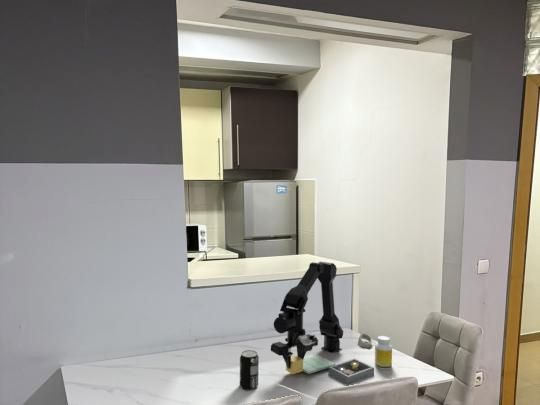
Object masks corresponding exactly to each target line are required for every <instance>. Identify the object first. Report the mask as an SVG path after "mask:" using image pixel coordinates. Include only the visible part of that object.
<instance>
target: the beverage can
mask: <svg viewBox="0 0 540 405" xmlns="http://www.w3.org/2000/svg"><path fill="white" fill-rule="evenodd" d="M259 360H260V359H259V355H258V352H257V351H256V350H250V349H247V350H243V351H241V353H240V357H239V387H240V388H241V389H242V390H244V391H253V390H256V389H257V387H258V386H259V369H260V368H259V364H260V363H259Z"/></svg>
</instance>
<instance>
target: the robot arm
mask: <svg viewBox="0 0 540 405" xmlns="http://www.w3.org/2000/svg"><path fill="white" fill-rule="evenodd" d="M337 271H338V270H337V266H336V264H335V263H333V262H327V261H319V262H314V261H312V262H310V263H309V264H308V269H307V270H306V271H305V273H304V275H303V276H302V278H301V279H300V281H299V282H298V284H297V285H296V286H294V287H292V288H290V289H289V291H287V293H286V294H285V296H284V298H283V301H282V305H281V307H280V309H279V311H280V313H278V317H276V318H275V319H274V321H273V328H274V330H275V331H276V332H277V333H278V334H285V333H287V336H286V337H285V339H284V341H285V342H286V343H283V342H281V341H276V342H273V343H272V344H271V345H270V351H271V352H272V353H274V354H275V355H278V356H282V358H283V361H284V363H285V366H286V365H287V368H288V369H290V366H291V357H292V356H293V354H294V353H293V352H292V351H291V350H292V348H295V347H296V354H297V355H296V356H298V357H300V358H302V359H305V356H306V354H307V352H311V351H313V347H316V346H318V345H319V344H318V343H319V340H318V338H317V336H316V335H315V334H309V333H308V334H307V333H306V329H305V328H303V327H304V326H303V325H304V313H305V312H306V309H305V307H306V305H307V303H308V300H309V297H308V296H309V295H308V294H309V292H310V291H311V289H312V287H313V286H314V284H315V282H316V281H317V279H318V281H319V283H320V285H321V286H320V288H321V303H322V314H323V315H322V317H320V320H319V321H318V323H319V324H318V326H319V333H320V336H324V337H323V346H322V347H321V350H323V351H325V352H329V353H331V354H332V353H336V352H339V351H343V350H342V348H340V347H341V346H340V345H341V344H340V343H341V342H340V339H342V338H343V336H344V330H343V328H342V327H341V324H340V319H339V318H338V316H337V314H336V313H335V299H334V296H335V295H334V287H333V286H334V280H335V279H336V277H337Z"/></svg>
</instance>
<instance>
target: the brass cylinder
mask: <svg viewBox="0 0 540 405" xmlns="http://www.w3.org/2000/svg"><path fill="white" fill-rule="evenodd" d="M351 370H352V371H358V370H359V363H357V362H351Z"/></svg>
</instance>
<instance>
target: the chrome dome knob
mask: <svg viewBox="0 0 540 405" xmlns="http://www.w3.org/2000/svg"><path fill="white" fill-rule="evenodd" d="M338 371H340V372H342V373H343V372H344V371H346V368H344V367H339V368H338Z"/></svg>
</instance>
